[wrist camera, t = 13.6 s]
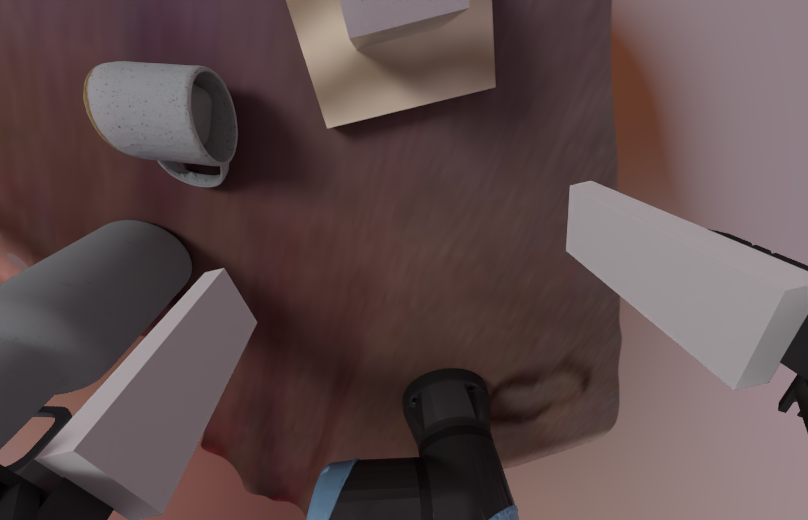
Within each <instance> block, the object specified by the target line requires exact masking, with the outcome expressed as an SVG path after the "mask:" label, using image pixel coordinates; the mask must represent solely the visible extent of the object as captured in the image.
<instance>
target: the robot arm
mask: <svg viewBox="0 0 808 520" xmlns="http://www.w3.org/2000/svg"><path fill="white" fill-rule="evenodd" d="M566 251H567V252H568V253H569V254H571V255H572V256H573V257H574V258H575V259H577V260H578V261H579V262H580V263H581V264H583V265H584V266H585V267H586V268H587V269H589V270H590V271H591V272H592V273H593V274H595V275H596V276H597V277H598V278H599V279H601V280H602V281H603V282H604V283H605V284H607V285H608V286H609V287H610V288H611V289H613V290H614V291H615V292H616V293H617V294H619V295H620V296H621V297H622V298H623V299H625V300H626V301H627V302H628V303H630V304H631V305H632V306H633V307H634V308H636V309H637V310H638V311H639V312H640V313H642V314H643V315H644V316H645V317H646V318H648V319H649V320H650V321H651V322H652V323H654V324H655V325H656V326H657V327H658V328H660V329H661V330H662V331H663V332H664V333H666V334H667V335H668V336H669V337H671V338H672V339H673V340H674V341H675V342H676V343H678V344H679V345H680V346H681V347H682V348H684V349H685V350H686V351H687V352H688V353H690V354H691V355H692V356H693V357H694V358H696V359H697V360H698V361H699V362H700V363H702V364H703V365H704V366H705V367H706V368H708V369H709V370H710V371H711V372H712V373H714V374H715V375H716V376H717V377H719V378H720V379H721V380H722V381H723V382H724V383H726V384H727V385H728V386H729V387H731V388H732V389H733V390H738V389H742V388H747V387H751V386H756V385H761V384H765V383H769V382H770V380H771V379H772V377H773V375H774V374H775V372H776V370H777V368H778V367H779V365H780V363H782V364H784V365H785V366H787V367H788V368H789V369H791V370H792V371H794V372H795V373H797V376H796V377H795V379H794V381H793V382H792V383H791V385H790V387H789V388H788V390H787V391H786V393H785V394H784V396H783V397H782V399H781V400H780V402H779V407H778V411H781V412H785V413H786V412H787V411H788V409H789V408H790V406H791V405H792V403H793V402H798V405H799V408H800V412H799V413H798V416H799V417H802V418H803V420H804V423H805V426H806V429H807V432H808V266H807V265H805V264H802V263H800V262H797V261H795V260H792V259H790V258H787V257H785V256H782V255H780V254H777V253H773V254H772V253H771V251H770V250H767V249H765V248H763V247H760V246H758V245H753V246H752V244H751V243H750V242H748V241H745V240H743V239H740V238H738V237H735V236H733V235H730V234H727V233H723V232H719V231H714V230H710V229H705V228H702V227H701V226H698V225H696V224H693V223H691V222H689V221H686V220H684V219H681V218H679V217H676V216H674V215H672V214H669V213H667V212H665V211H662V210H660V209H657V208H655V207H653V206H650V205H648V204H645V203H643V202H641V201H638V200H636V199H634V198H631V197H628V196H626V195H624V194H622V193H619V192H617V191H614V190H612V189H610V188H607V187H605V186H602V185H600V184H598V183H595V182H593V181H587V182H583V183H579V184H575V185H571V186H570V194H569V210H568V227H567V243H566ZM256 324H257V321H256V319H255V318H254V316H253V315H252V313H251V311H250V310H249V308H248V306H247V305H246V303H245V301H244V300H243V298H242V296H241V295H240V293H239V291H238V290H237V288H236V287H235V285H234V283H233V282H232V280H231V278H230V277H229V275H228V273H227V272H226V270H225V268H222V269H218V270H213V271H209V272H205V273H204V274H203V275H202V276H201V277H200V278H199V279H198V280H197V282H196V283H195V284H194V285H193V286H192V287H191V288H190V289H189V290H188V291H187V293H186V294H185V295H184V296H183V297H182V298H181V299H180V300H179V301H178V302H177V303H176V305H175V306H174V307H173V308H172V309H171V310H170V311H169V312H168V313H167V314H166V316H165V317H164V318H163V319H162V320H161V321H160V322H159V323H158V324H157V325H156V326H155V328H154V329H153V330H152V331H151V332H150V333H149V334H148V335H147V336H146V337H145V339H144V340H143V341H142V342H141V343H140V344H139V345H138V346H137V347H136V348H135V349H134V351H133V352H132V353H131V354H130V355H129V356H128V357H127V358H126V359H125V360H124V362H123V363H122V364H121V365H120V366H119V367H118V368H117V369H116V370H115V371H114V372H113V374H112V375H111V376H110V377H109V378H108V379H107V380H106V381H105V382H104V383H103V384H102V385H101V387H100V388H99V389H98V390H97V391H96V392H95V393H94V394H93V395H92V397H91V398H90V399H89V400H88V401H87V402H86V403H85V404H84V405H83V406H82V408H81V409H80V410H79V411H78V412H77V413H76V414H75V415H74V416H73V417H72V418H71V419H70V421H69V422H68V423H67V424H66V425H65V426H64V427H63V428H62V429H61V430H60V431H59V433H58V434H57V435H56V436H55V437H54V438H53V439H52V440H51V441H50V442H49V444H48V445H47V446H46V447H45V448H44V449H43V450H42V451H41V452H40V453H39V454H38V456H37V457H36V458H35V459H34V460H33V461H32V462H31V463H30V464H29V465H28V466H27V468H26V469H25V470H24V471H23V472H22V473H21V474H20V475H18V474H16V473H14V472H12V471H11V470H9V469H7V468H6V467H4V466H2V465H0V520H107V519H108V518H109V516H110V515H111V513H112V511H113V510H114V511H116V512H118V513H119V514H121V515H122V516H124V517H125V518H127V519H129V520H140V519H144V518H149V517H153V516H158V515H162V514H163V513H164V511H165V509H166V507H167V505H168V503H169V501H170V499H171V497H172V495H173V493H174V491H175V489H176V487H177V484H178V483H179V481H180V479H181V477H182V475H183V473H184V470H185V469H186V466H187V464H188V462H189V460H190V458H191V456H192V454H193V452H194V450H195V448H196V446H197V444H198V442H199V440H200V438H201V436H202V434H203V432H204V430H205V428H206V426H207V424H208V422H209V420H210V418H211V416H212V414H213V412H214V410H215V408H216V405H217V403H218V401H219V399H220V397H221V395H222V393H223V391H224V389H225V387H226V385H227V383H228V381H229V379H230V377H231V375H232V373H233V371H234V369H235V367H236V365H237V363H238V361H239V359H240V357H241V355H242V353H243V351H244V349H245V347H246V344H247V342H248V340H249V338H250V336H251V334H252V332H253V330H254V328H255V326H256ZM403 412H404V416H405V419H406V421H407V423H408V426H409V428H410V430H411V432H412V435H413V437H414V439H415V441H416V443H417V446H418V451H419V457H414V458H412V457H410V458H389V459H368V460H359V459H358V458H356V459H354V460H350V461H341V462H333V463H331V464H329V465H327V466H326V467H325V468H324V469H323V471H322V472H321V474H320V476H319V478H318V481H317V483H316V486H315V489H314V492H313V496H312V499H311V503H310V507H309V511H308V515H307V519H306V520H519V517H518V509H517V507H516V505H515V504H514V500H513V497H512V495H511V492H510V489H509V486H508V483H507V480H506V477H505V474H504V471H503V468H502V465H501V462H500V459H499V456H498V453H497V451H496V448H495V445H494V442H493V439H492V435H491V432H490V398H489V394H488V391H487V388H486V385H485V383H484V381H483V380H482V379H481V378H480V377H479V376H478V375H476V374H474V373H472V372H470V371H466V370H462V369H443V370H438V371H434V372H431V373H428V374H425V375H423V376H421V377H420V378H418V379H416V380H415V381H414V382H412V383H411V384H410V385H409V386H408V388H407V389H406V391H405V392H404V395H403Z"/></svg>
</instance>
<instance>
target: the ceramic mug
mask: <svg viewBox="0 0 808 520" xmlns="http://www.w3.org/2000/svg"><path fill="white" fill-rule="evenodd" d="M83 99H84V103H85V108H86V111H87V114H88V116H89V118H90V120H91V122H92V124H93V126H94V127H95V129H96V130H97V132H98V133H99V134H100V136H101V137H102V138H103V139H104V140H105V141H106V142H107V143H108V144H110V145H111V146H112V147H113V148H115V149H117V150H118V151H120V152H122V153H125V154H128V155H131V156H135V157H139V158H143V159H150V160H157V161H158V162H159V164H160V165H161V166H162V167H163V168H164V169H165V170H166V171H167V172H168V173H169V174H170V175H172V176H173V177H175V178H177V179H178V180H180V181H183V182H185V183H187V184H190V185H194V186H198V187H208V188H209V187H216V186H218V185H220V184H221V183H222V182H223V181H224V179H225V177H226V175H227V173H228V170H229V162H230V161H231V160H232V158H233V157H234V154H235V152H236V147H237V140H238V128H237V117H236V113H235V108H234V104H233V102H232V98H231V95H230V93H229V91H228V89H227V87H226V85H225V83H224V82H223V80H222V79H221V78H220V76H219V75H218V74H217V73H216V72H214V71H213V70H211V69H210V68H207V67H204V66H192V65H176V64H159V63H141V62H128V61H118V62H109V63H104V64H100V65H98V66H96V67H94V68H93V69H92V70H91V71H90V72H89V74H88V75H87V77H86V80H85V83H84V93H83ZM176 162H182V163H190V164H200V165H208V166H220V175H216V176H215V175H206V174H200V173H195V172H190V171H188V170H186V169H184V168H183V167H181V166H180V165H179V164H177V163H176Z"/></svg>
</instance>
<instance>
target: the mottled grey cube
mask: <svg viewBox="0 0 808 520" xmlns="http://www.w3.org/2000/svg"><path fill="white" fill-rule="evenodd" d="M340 4H341V8H342V12H343V16H344V20H345V24H346V28H347V32H348V36H349V39H350V41H351V42H352V44H353V46H354V47H355V49H356V50H357V49H361V48H365V47H369V46H373V45H377V44H381V43H385V42H388V41H392V40H396V39H400V38H404V37H408V36H412V35H416V34H420V33H424V32H428V31H431V30H435V29H439V28H441V27H443V26H444V25H446V24H447V23H448V22H450V21H451V20H453V19H454V18H456V17H457V16H458V15H460V14H461V13H463V12H464V11H466V10H467V9H468V8H470V7H469V0H340Z"/></svg>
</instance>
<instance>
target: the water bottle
mask: <svg viewBox="0 0 808 520" xmlns="http://www.w3.org/2000/svg"><path fill="white" fill-rule="evenodd" d="M191 273H192V262H191V259H190V256H189V253H188V252H187V250H186V248H185V247H184V246H183V244H182V243H181V242H180V241H179V240H178V239H177V238H176V237H174V236H173V235H172V234H170V233H169V232H167V231H166V230H164V229H162V228H160V227H158V226H156V225H153V224H150V223H147V222H142V221H137V220H121V221H115V222H112V223H109V224H106V225H105V226H103V227H101V228H99V229H97V230H96V231H94V232H92V233H90V234H88V235H87V236H85V237H83V238H81V239H80V240H78V241H76V242H74V243H72V244H71V245H69V246H67V247H65V248H63V249H62V250H60V251H58V252H56V253H55V254H53V255H51V256H49V257H47V258H46V259H44V260H42V261H40V262H38V263H37V264H35V265H33V266H31V267H30V268H28V269H26V270H24V271H22V272H21V273H19V274H17V275H15V276H13V277H12V278H10V279H8V280H6V281H5V282H3V283H1V284H0V449H1V448H2V447H3V446H4V445H5V444H6V443H7V442H8V441H9V440H10V439H11V438H12V437H13V436H14V435H15V434H16V433H17V432H18V431H19V430H20V429H21V428H22V427H23V426H24V425H25V424H26V423H27V422H28V421H29V420H30V419H31V418H32V417H53V418H55V422H54V424H53V425H52V427H51V428H50V429H49V430H48V431H47V432H46V433H45V434H44V436H43V437H42V438H41V439H40V440H39V441H38V442H37V443H36V445H34V447H33V448H32V449H31V450H30V451H29V452H28V453H27V454H26V455H25V456H24V457H22V458H21V459H19V460H18V461H16V462H15V463H13V464H11V465H9V466H6V468H7V469H9V470H11V471H12V472H14V473H16V474H18V475H20V474H21V473H22V472H23V471H24V470H25V469H26V468H27V466H28V465H29V464H30V463H31V462H32V461H33V460H34V459H35V458H36V457H37V456H38V454H39V453H40V452H41V451H42V450H43V449H44V448H45V447H46V446H47V445H48V444H49V442H50V441H51V440H52V439H53V438H54V437H55V436H56V435H57V434H58V433H59V431H60V430H61V429H62V428H63V427H64V426H65V425H66V424H67V423H68V422H69V421H70V419H71V418H72V415H71V413H70V411H69V410H68V409H67V408H65V407H53V406H52V407H50V406H44V405H45V404H46V403H47V402H48V401H49V400H50V399H51V398H52V397H53V396H54V395H57V394H64V393H69V392H73V391H75V390H79V389H82V388H85V387H87V386H89V385H91V384H92V383H94V382H96V381H97V380H99V379H100V378H101V377H102V376H103V375H104V374H105V373H106V372H107V371H108V370H109V369H110V368H111V367H112V366H113V365H114V364H115V363H116V362H117V361H118V359H119V358H120V357H121V356H122V355H123V354H124V353H125V351H126V350H127V349H128V348H129V347H130V346H131V345H132V344H133V343H134V342H135V340H136V339H137V338H138V337H139V336H140V335H141V334H142V333H143V331H144V330H145V329H146V328H147V327H148V326H149V325H150V324H151V323H152V321H153V320H154V319H155V318H156V317H157V316H158V315H159V314H160V312H161V311H162V310H163V309H164V308H165V307H166V306H167V305H168V303H169V302H170V301H171V300H172V299H173V298H174V297H175V296H176V295H177V293H178V292H179V291H180V290H181V289H182V288H183V287H184V286H185V284H186V283H187V282H188V280H189V278H190V276H191Z"/></svg>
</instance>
